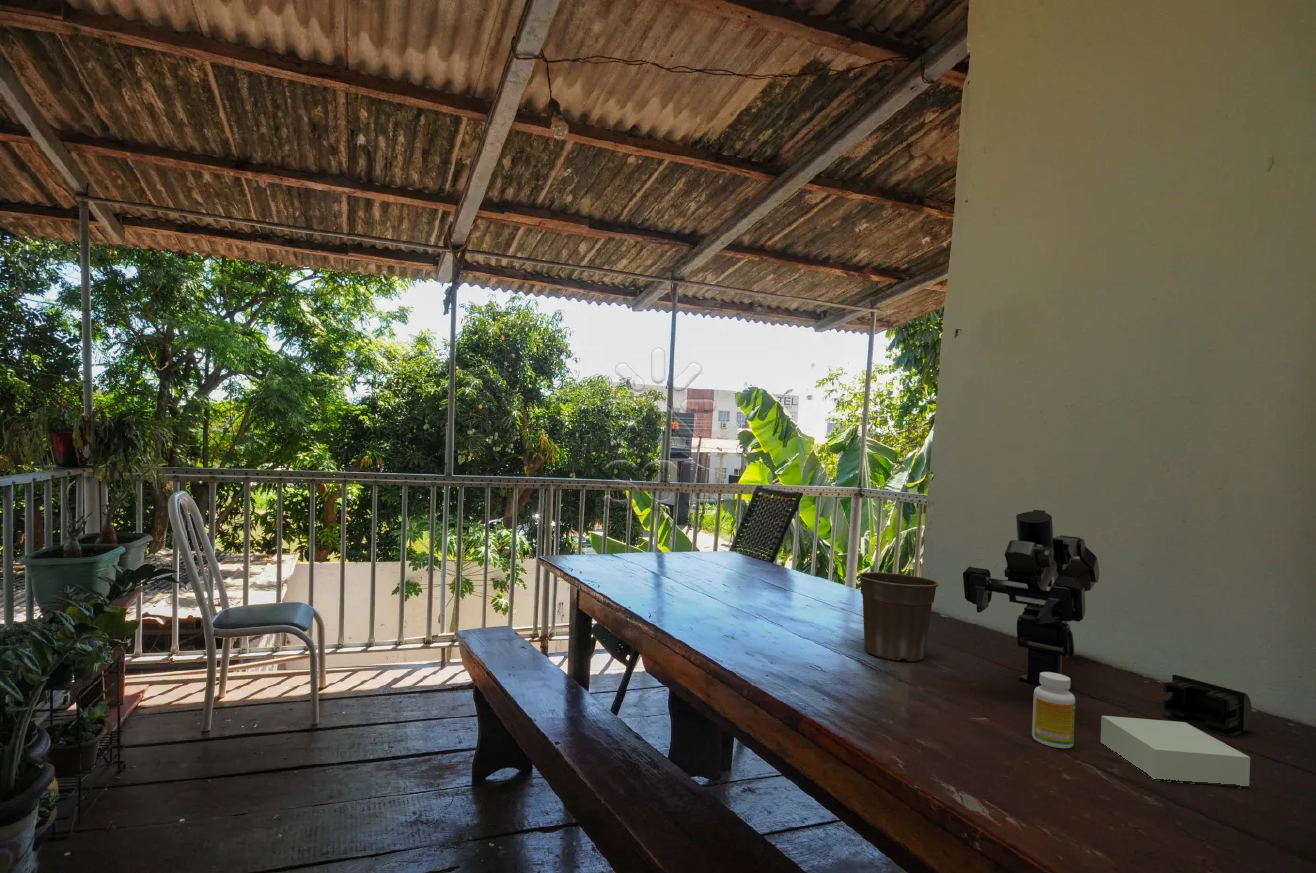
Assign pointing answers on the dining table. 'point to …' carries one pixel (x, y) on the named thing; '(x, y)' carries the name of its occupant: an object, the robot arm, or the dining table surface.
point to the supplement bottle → (1053, 711)
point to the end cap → (1207, 706)
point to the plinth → (1174, 751)
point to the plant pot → (896, 614)
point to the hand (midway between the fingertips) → (1007, 615)
